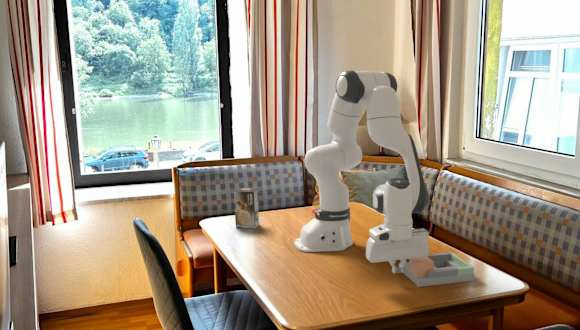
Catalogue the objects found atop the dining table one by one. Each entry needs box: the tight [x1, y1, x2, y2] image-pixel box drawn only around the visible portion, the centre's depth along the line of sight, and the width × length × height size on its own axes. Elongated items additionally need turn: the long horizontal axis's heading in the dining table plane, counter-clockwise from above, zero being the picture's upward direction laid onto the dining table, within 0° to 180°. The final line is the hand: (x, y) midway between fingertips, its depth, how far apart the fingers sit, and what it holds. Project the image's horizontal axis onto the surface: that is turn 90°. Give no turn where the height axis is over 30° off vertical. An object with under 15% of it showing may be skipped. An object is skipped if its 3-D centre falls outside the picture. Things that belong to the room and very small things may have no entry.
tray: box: [401, 252, 475, 288], centre depth 194 cm, size 19×15×4 cm
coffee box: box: [233, 187, 260, 229], centre depth 251 cm, size 9×6×16 cm
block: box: [409, 257, 434, 277], centre depth 190 cm, size 6×5×4 cm
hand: (397, 272), depth 188 cm, fingers closed
